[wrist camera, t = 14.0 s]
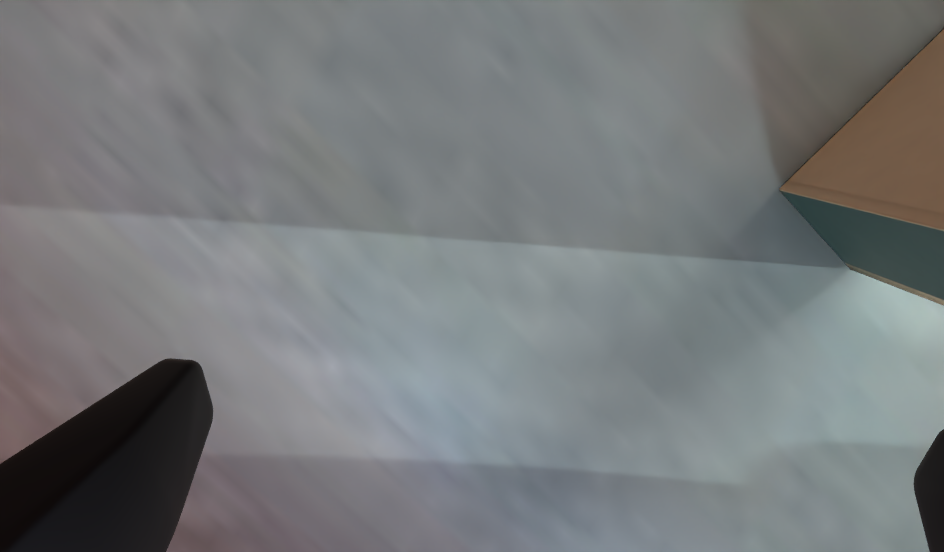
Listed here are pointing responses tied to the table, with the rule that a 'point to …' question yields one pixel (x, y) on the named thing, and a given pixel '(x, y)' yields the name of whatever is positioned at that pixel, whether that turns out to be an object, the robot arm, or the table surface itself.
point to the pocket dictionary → (885, 182)
